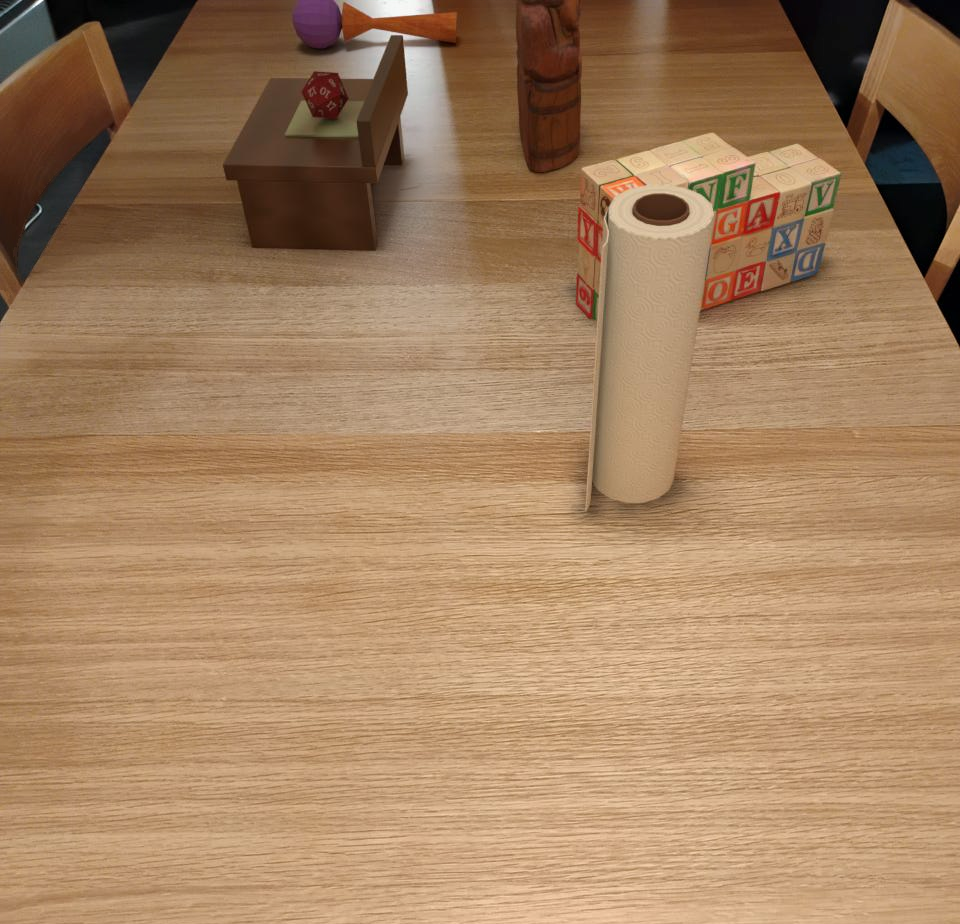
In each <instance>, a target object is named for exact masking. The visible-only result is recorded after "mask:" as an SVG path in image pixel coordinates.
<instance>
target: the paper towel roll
mask: <svg viewBox="0 0 960 924" xmlns="http://www.w3.org/2000/svg"><path fill="white" fill-rule="evenodd" d="M713 223H714V212H713V208H712V204H711V203H710V202H709V201H708V200H707V199H706V198H705V197H703V196H702V195H701V194H699V193H696V192H694V191H692V190H689V189H687V188H683V187H677V186H672V185H644V186H640V187H636V188H632V189H628V190H626V191H624V192H623V193H621V194H619V195H617V196H616V197H615V198H614V199H613V201H612V202H611V204H610V206H609V208H608V210H607V212H606V214H605V216H604V222H603V238H602V253H601V269H600V285H599V301H598V317H597V319H596V320H597V321H596V332H595V333H596V334H595V348H594V349H595V351H594V365H593V366H594V368H593V379H592V380H593V381H592V396H591V397H592V398H591V411H590V412H591V414H590V429H589V430H590V431H589V442H588V443H589V445H588V458H587V459H588V461H587V475H586V476H587V477H586V495H585V509H584V511H585V512H587V511H588V510H589V508H590V506H591V499H592V488H593V486H594V487H595V489H596V490H597V491H598V492H600V493H601V494H602V495H604V496H605V497H607V498H609V499H611V500H614V501H618V502H622V503H626V504H640V503H641V504H644V503H647V502H650V501H653V500H657V499H659V498H660V497H662V496H663V495H665V494H666V493H667V492H668V491H669V490H670V489H671V487H672V485H673V483H674V481H675V476H676V469H677V464H678V463H677V461H678V456H679V450H680V442H681V438H682V437H681V436H682V431H683V423H684V418H685V417H684V416H685V412H686V405H687V397H688V391H689V384H690V378H691V372H692V364H693V358H694V351H695V347H696V346H695V345H696V339H697V333H698V327H699V319H700V312H701V311H700V307H701V301H702V294H703V288H704V281H705V275H706V268H707V262H708V255H709V249H710V242H711V236H712V229H713Z"/></svg>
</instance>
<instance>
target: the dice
mask: <svg viewBox="0 0 960 924" xmlns="http://www.w3.org/2000/svg"><path fill="white" fill-rule="evenodd" d="M309 78H310V79H309V80H308V82H307V83H306V85H305V87H304V88H303V90H302V91H301V92H302V94H303V96H304V99H305V101H306V103H307V105H308V108H309V110H310V112H311V114H312V117H318V118H333V119H337V117H338V115H339V114H340V112H341V110H342V109H343V107H344V105H345V104H346V102H347V100H348V99H349V98H348V96H347V93H346V91H345V89H344V86H343V84H342V82H341V79H342V78H341V76H340V75H339V72H332V71H319V70H317V71H315V70H314V71H312V73H311V75H310V77H309Z"/></svg>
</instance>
